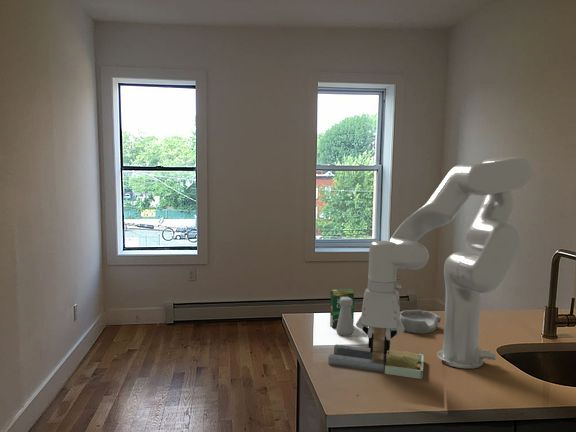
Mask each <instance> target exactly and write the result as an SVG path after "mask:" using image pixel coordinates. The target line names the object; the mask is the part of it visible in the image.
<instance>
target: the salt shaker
mask: <svg viewBox="0 0 576 432" xmlns="http://www.w3.org/2000/svg"><path fill="white" fill-rule="evenodd" d="M339 303H340V305H341V309H340V314H339V318H338V323H337V328H335V330H336V334H337V335H338V336H340V337H352V336H353V335H354V331H355V328H354V323H353V320H352V313H351V306H352V304H353V300H352V299H351V298H349V297H342V298H340V301H339Z"/></svg>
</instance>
